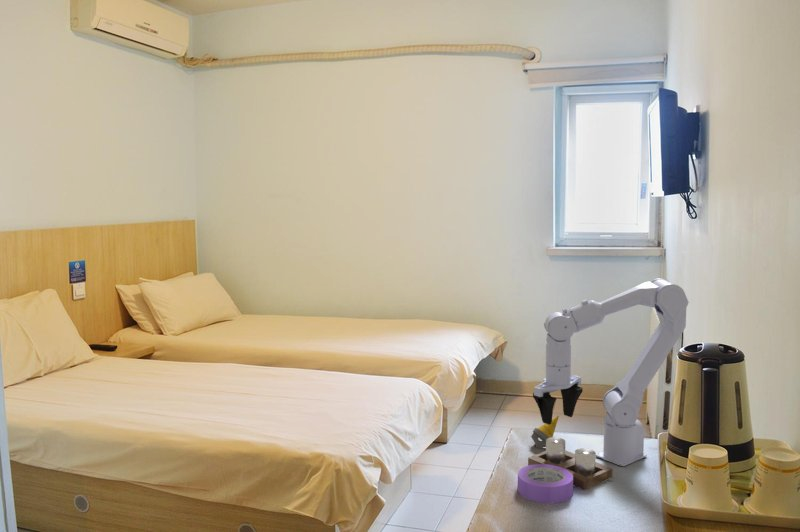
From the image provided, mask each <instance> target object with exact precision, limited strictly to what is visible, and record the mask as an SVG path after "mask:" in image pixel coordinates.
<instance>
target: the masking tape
mask: <svg viewBox="0 0 800 532" xmlns="http://www.w3.org/2000/svg"><path fill="white" fill-rule="evenodd" d="M517 491H518V494H519V495H520V496H521V497H523V498H525V499H526V500H529V501H531V502H536V503H540V504H558V503H563V502H565V501H568V500H569V499H571V498H572V497H573V496H574V485H573V475H572V474H571V472H569V471H568V470H566V469H564V468H561V467H558V466H554V465H547V464H535V465H529V466H528V465H527V466H523V467H522V468H520V469H519V470H518V472H517Z"/></svg>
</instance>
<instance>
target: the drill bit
mask: <svg viewBox="0 0 800 532" xmlns="http://www.w3.org/2000/svg"><path fill="white" fill-rule="evenodd" d="M559 418H560V416H559V415H557V416H555V417H554V418H552V422H551V424H550V425H548V424H546V423H543V425H541V426H539V427H535V428H534V429H533V430H532V434H531V436H530V437H531V439H532V441H533V443H534V444H535V446H537V447H536V448H540V447H546V439H548V438H551V437H554V433H555V430H556V427H557V424H558V420H559Z"/></svg>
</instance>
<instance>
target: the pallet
mask: <svg viewBox="0 0 800 532" xmlns="http://www.w3.org/2000/svg"><path fill="white" fill-rule="evenodd" d="M535 464H547V465H554V466H558V467H561V468H564V469H566V470H568V471H569V472H571V474H572V475H573V487H576V488H578V489H580V490H583V491H584V490H587V489H589V488H592V487H594V486H596V485H599V484H600V483H603V482H605V481H607V480H609V479H612V478H613V477H614V468H612V467H609V466H607V465H604V464H602V463H599V462H597V461H595V474H592V475H590V476H588V477H586V476H583V475H581V474H578V473H576V472H575V452H574V453H573V452H570V451H569V450H566V449H565V462H562V463H560V464H554V463H552V462H549V461H547V460H546V450H545V451H542V452H540V453H537V454H535V455H532V456H529V457H528V459H527V466H529V465H535Z"/></svg>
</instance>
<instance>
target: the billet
mask: <svg viewBox="0 0 800 532" xmlns="http://www.w3.org/2000/svg"><path fill="white" fill-rule="evenodd" d="M574 454H575V472H576V473H578V474H581V475H583V476H586V477H588V476H590V475H592V474H595V462H596V454H597V453H596V451H595V450H593V449H590V448H585V447H584V448H577V449H576V450H575V451H574Z"/></svg>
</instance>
